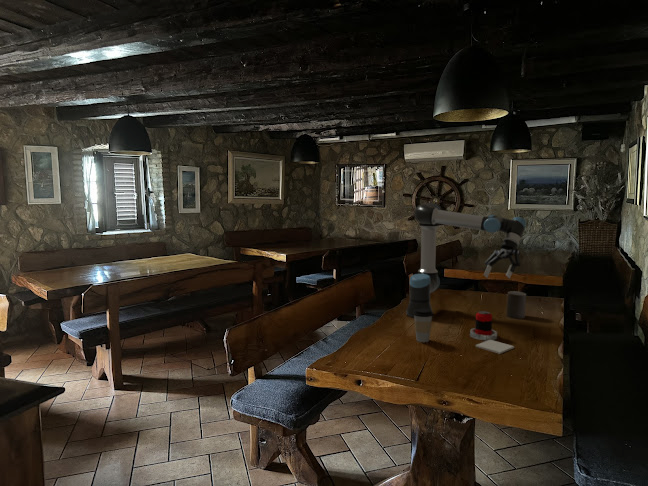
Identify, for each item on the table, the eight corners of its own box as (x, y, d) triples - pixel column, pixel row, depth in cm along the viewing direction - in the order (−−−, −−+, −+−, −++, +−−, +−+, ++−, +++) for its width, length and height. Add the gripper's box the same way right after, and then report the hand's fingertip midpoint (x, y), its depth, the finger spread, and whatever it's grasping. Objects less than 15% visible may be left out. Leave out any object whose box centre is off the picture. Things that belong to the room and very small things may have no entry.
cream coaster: (475, 346, 199) (475, 345, 199) (489, 341, 206) (490, 339, 206) (499, 354, 189) (499, 352, 189) (514, 347, 197) (514, 346, 197)
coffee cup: (433, 344, 202) (433, 313, 201) (412, 343, 204) (412, 312, 203) (432, 337, 212) (432, 308, 210) (412, 336, 213) (412, 307, 212)
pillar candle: (506, 317, 245) (507, 291, 243) (506, 313, 254) (507, 288, 252) (525, 319, 241) (526, 293, 240) (524, 315, 250) (525, 289, 249)
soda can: (481, 339, 209) (482, 315, 207) (472, 334, 216) (472, 311, 215) (494, 338, 211) (495, 314, 209) (485, 333, 218) (485, 310, 217)
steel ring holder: (465, 335, 214) (465, 331, 214) (479, 330, 222) (479, 326, 222) (487, 342, 205) (487, 337, 204) (501, 336, 212) (501, 332, 212)
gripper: (536, 246, 220) (522, 281, 213) (494, 248, 241) (480, 279, 234) (528, 237, 217) (513, 272, 210) (486, 240, 238) (472, 272, 231)
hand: (496, 276), depth 222 cm, fingers open, 13 cm apart
